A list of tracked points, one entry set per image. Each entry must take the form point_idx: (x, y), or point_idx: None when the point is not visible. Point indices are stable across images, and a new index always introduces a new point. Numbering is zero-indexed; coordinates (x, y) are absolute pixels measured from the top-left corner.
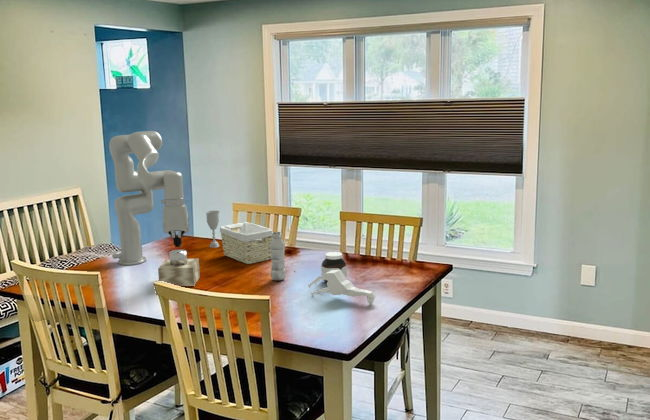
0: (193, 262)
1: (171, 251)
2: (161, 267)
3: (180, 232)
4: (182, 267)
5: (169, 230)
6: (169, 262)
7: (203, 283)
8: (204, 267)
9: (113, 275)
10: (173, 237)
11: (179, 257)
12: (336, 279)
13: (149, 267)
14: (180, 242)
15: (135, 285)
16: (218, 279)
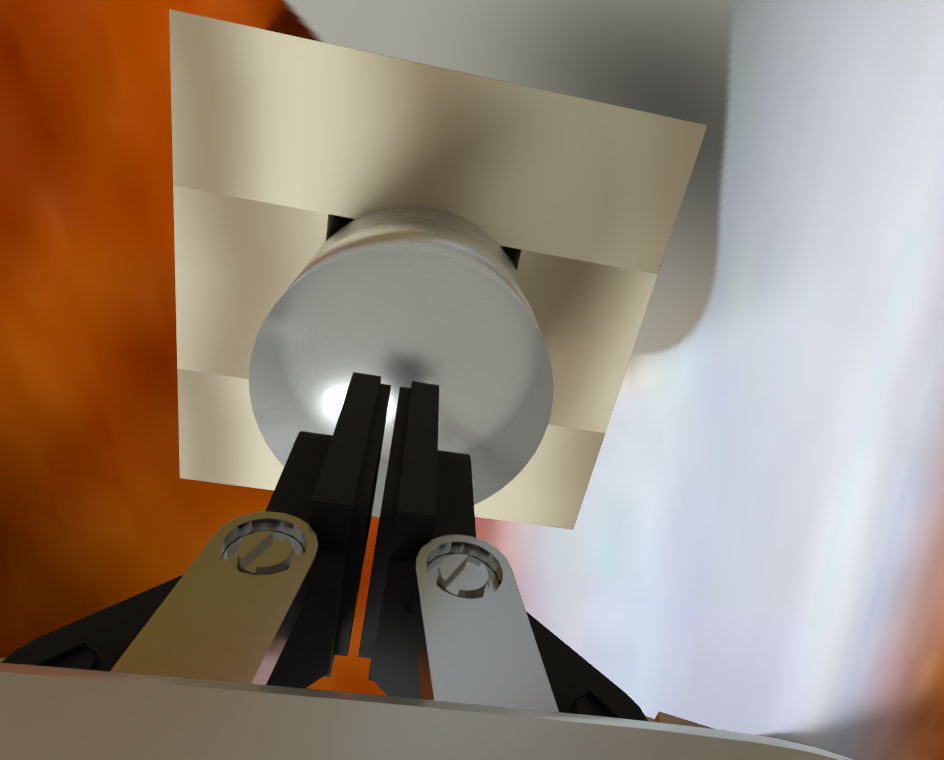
0: (215, 312)
1: (513, 444)
2: (652, 183)
3: (156, 655)
4: (346, 78)
5: (672, 731)
6: None
7: None
8: None
9: (924, 576)
10: (468, 557)
11: (378, 236)
12: None
13: (653, 680)
14: (300, 452)
15: (830, 273)
16: (39, 231)
